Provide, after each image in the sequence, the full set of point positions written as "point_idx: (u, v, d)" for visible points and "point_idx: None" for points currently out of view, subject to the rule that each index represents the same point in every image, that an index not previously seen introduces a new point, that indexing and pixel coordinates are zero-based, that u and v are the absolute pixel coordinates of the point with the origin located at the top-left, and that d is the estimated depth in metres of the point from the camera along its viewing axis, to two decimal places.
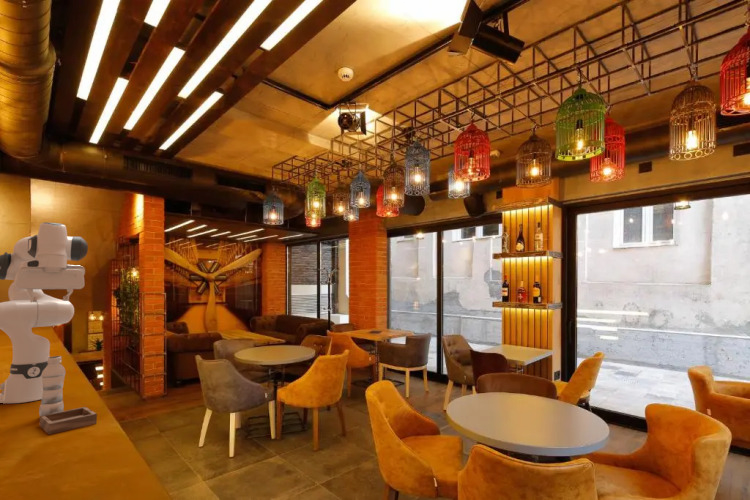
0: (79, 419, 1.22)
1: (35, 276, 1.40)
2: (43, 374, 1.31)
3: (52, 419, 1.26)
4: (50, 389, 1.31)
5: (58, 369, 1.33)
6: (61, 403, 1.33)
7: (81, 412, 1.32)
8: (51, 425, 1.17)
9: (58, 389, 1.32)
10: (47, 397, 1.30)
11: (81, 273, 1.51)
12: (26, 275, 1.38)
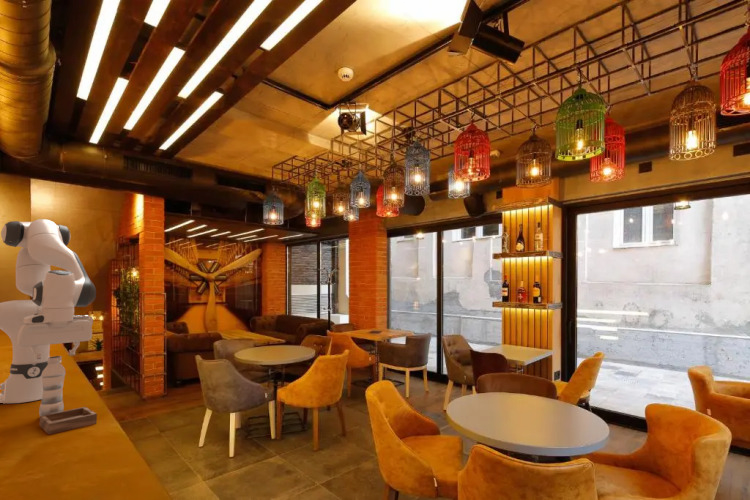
0: (79, 419, 1.22)
1: (40, 332, 1.30)
2: (43, 374, 1.31)
3: (52, 419, 1.26)
4: (50, 389, 1.31)
5: (58, 369, 1.33)
6: (61, 403, 1.33)
7: (81, 412, 1.32)
8: (51, 425, 1.17)
9: (58, 389, 1.32)
10: (47, 397, 1.30)
11: (89, 324, 1.41)
12: (30, 332, 1.28)
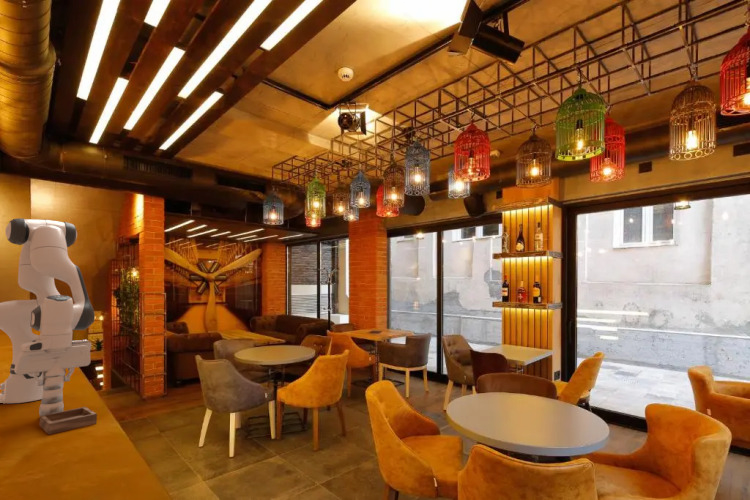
0: (79, 419, 1.22)
1: (38, 359, 1.29)
2: (43, 374, 1.31)
3: (52, 419, 1.26)
4: (50, 389, 1.31)
5: (59, 369, 1.33)
6: (61, 403, 1.33)
7: (81, 412, 1.32)
8: (51, 425, 1.17)
9: (58, 389, 1.32)
10: (47, 397, 1.30)
11: (87, 349, 1.40)
12: (28, 359, 1.27)
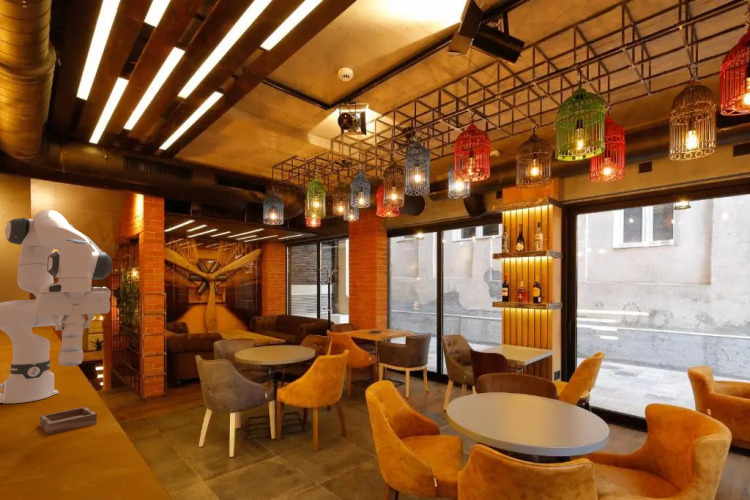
0: (79, 419, 1.22)
1: (57, 302, 1.24)
2: (63, 321, 1.25)
3: (52, 419, 1.26)
4: (70, 337, 1.26)
5: (79, 316, 1.27)
6: (81, 352, 1.28)
7: (81, 412, 1.32)
8: (51, 425, 1.17)
9: (78, 337, 1.27)
10: (67, 345, 1.25)
11: (107, 296, 1.35)
12: (47, 301, 1.22)
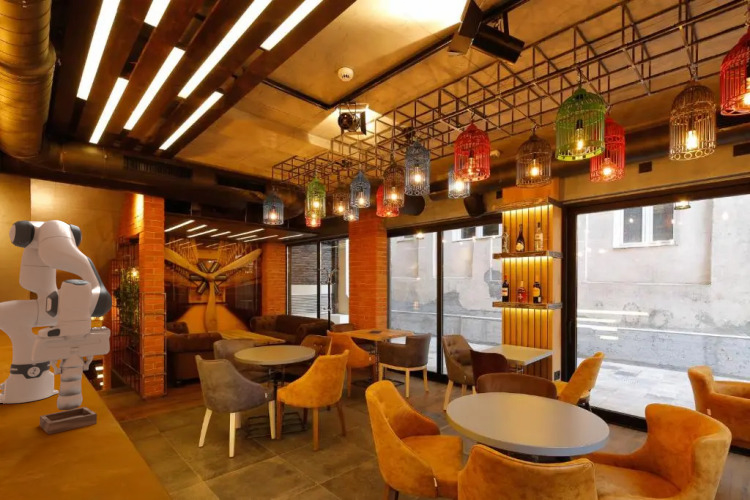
0: (79, 419, 1.22)
1: (56, 346, 1.22)
2: (61, 364, 1.24)
3: (52, 419, 1.26)
4: (68, 381, 1.24)
5: (78, 359, 1.26)
6: (80, 395, 1.26)
7: (81, 412, 1.32)
8: (51, 425, 1.17)
9: (77, 380, 1.25)
10: (66, 389, 1.23)
11: (106, 337, 1.33)
12: (46, 346, 1.20)
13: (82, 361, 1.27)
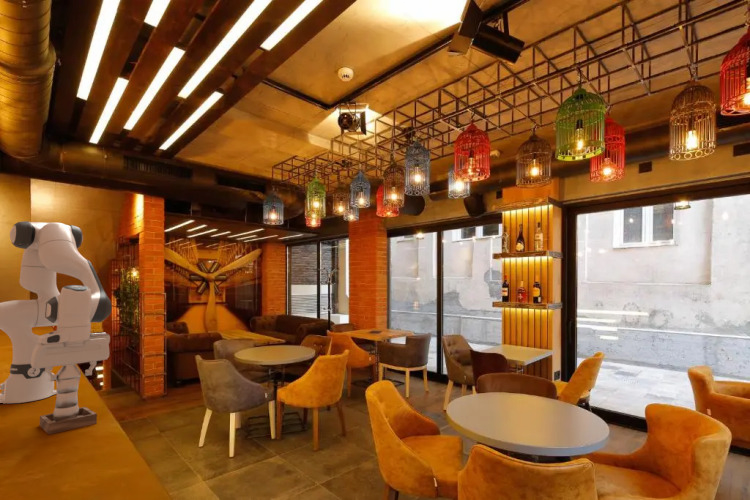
0: (79, 419, 1.22)
1: (55, 352, 1.22)
2: (57, 376, 1.23)
3: (52, 419, 1.26)
4: (65, 392, 1.23)
5: (74, 371, 1.25)
6: (76, 407, 1.25)
7: (81, 412, 1.32)
8: (51, 425, 1.17)
9: (73, 392, 1.25)
10: (62, 401, 1.23)
11: (106, 342, 1.33)
12: (45, 352, 1.20)
13: (78, 372, 1.26)
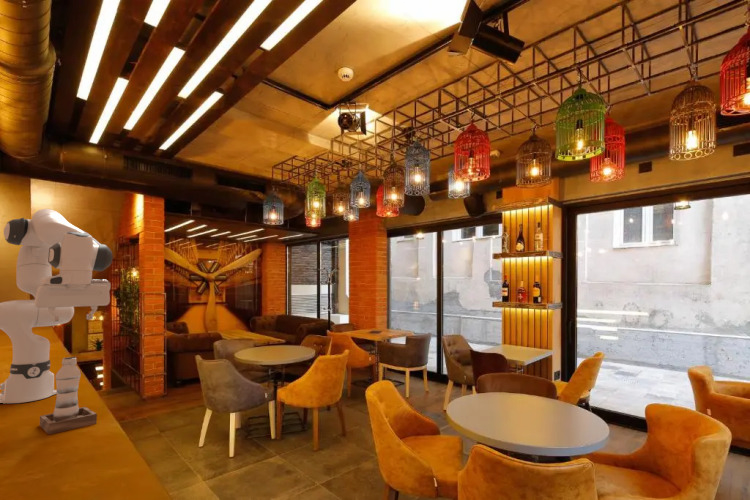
0: (79, 419, 1.22)
1: (58, 293, 1.27)
2: (57, 376, 1.23)
3: (52, 419, 1.26)
4: (65, 392, 1.23)
5: (74, 371, 1.25)
6: (76, 407, 1.25)
7: (81, 412, 1.32)
8: (51, 425, 1.17)
9: (73, 392, 1.25)
10: (62, 401, 1.23)
11: (107, 289, 1.37)
12: (48, 293, 1.25)
13: (78, 372, 1.26)
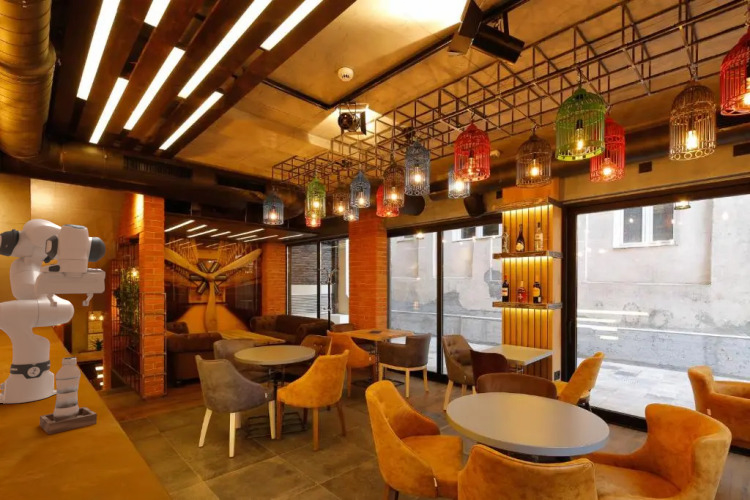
0: (79, 419, 1.22)
1: (56, 281, 1.37)
2: (57, 376, 1.23)
3: (52, 419, 1.26)
4: (65, 392, 1.23)
5: (74, 371, 1.25)
6: (76, 407, 1.25)
7: (81, 412, 1.32)
8: (51, 425, 1.17)
9: (73, 392, 1.25)
10: (62, 401, 1.23)
11: (101, 277, 1.47)
12: (47, 280, 1.35)
13: (78, 372, 1.26)
